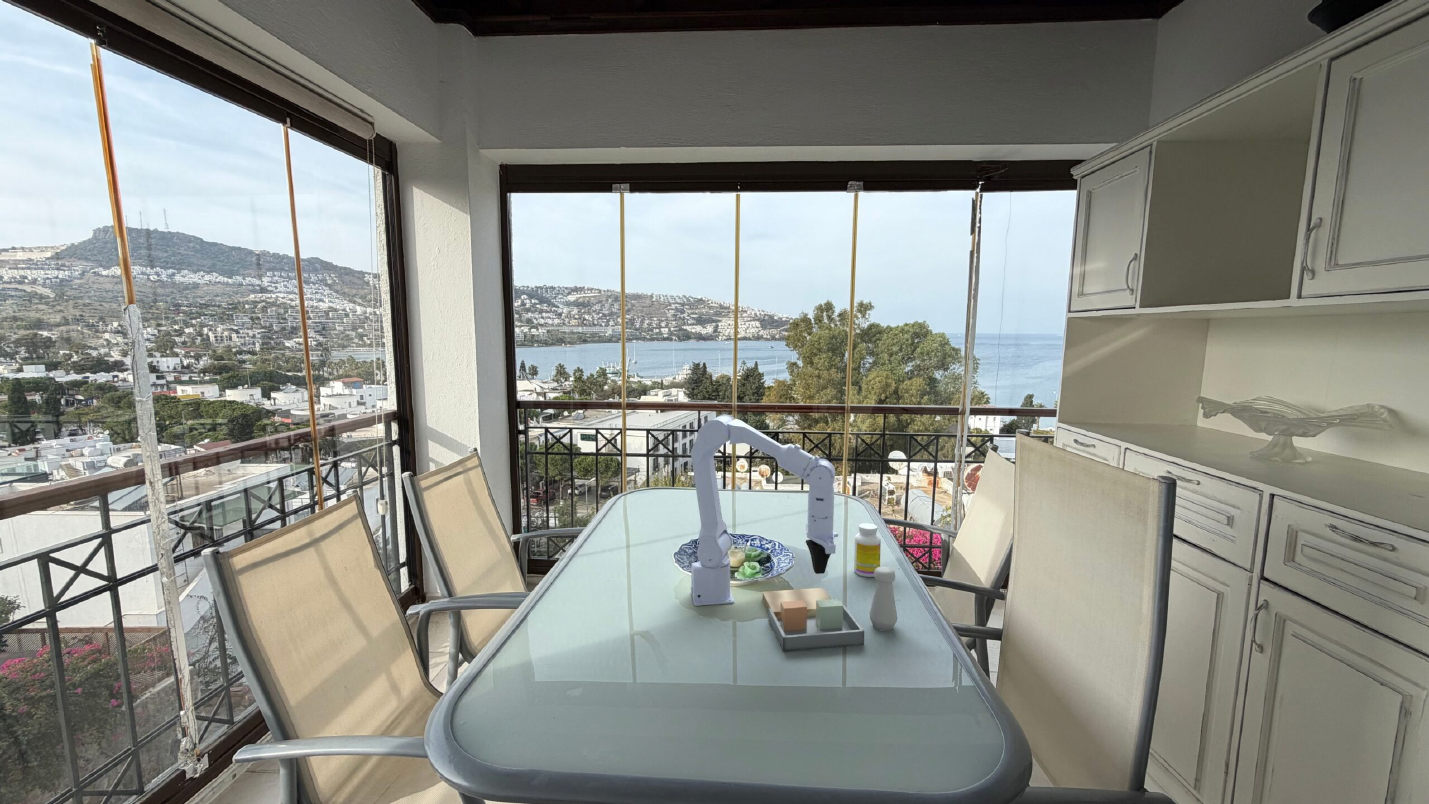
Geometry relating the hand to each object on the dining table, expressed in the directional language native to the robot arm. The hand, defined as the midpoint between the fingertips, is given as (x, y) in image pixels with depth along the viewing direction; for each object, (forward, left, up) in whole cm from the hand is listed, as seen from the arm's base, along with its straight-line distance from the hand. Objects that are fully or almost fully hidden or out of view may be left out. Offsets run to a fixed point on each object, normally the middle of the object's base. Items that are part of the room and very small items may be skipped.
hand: (819, 572), depth 126 cm
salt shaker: (+12, -9, -10) cm, 17 cm away
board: (-4, +2, -9) cm, 10 cm away
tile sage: (0, -6, -6) cm, 8 cm away
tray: (-4, -9, -9) cm, 13 cm away
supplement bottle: (+20, +18, -10) cm, 28 cm away
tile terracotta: (-8, -5, -6) cm, 11 cm away
